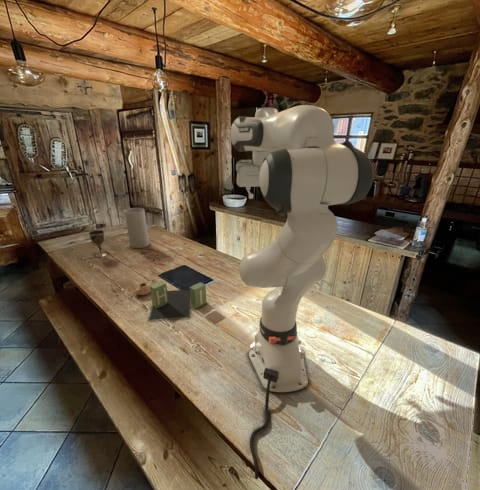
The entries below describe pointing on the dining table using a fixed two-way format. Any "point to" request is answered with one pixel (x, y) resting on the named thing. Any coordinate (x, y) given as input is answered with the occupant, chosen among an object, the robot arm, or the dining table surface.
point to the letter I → (198, 295)
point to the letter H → (159, 294)
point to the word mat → (173, 306)
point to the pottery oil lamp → (144, 287)
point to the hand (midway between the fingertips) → (263, 198)
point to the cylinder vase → (137, 227)
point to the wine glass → (98, 241)
